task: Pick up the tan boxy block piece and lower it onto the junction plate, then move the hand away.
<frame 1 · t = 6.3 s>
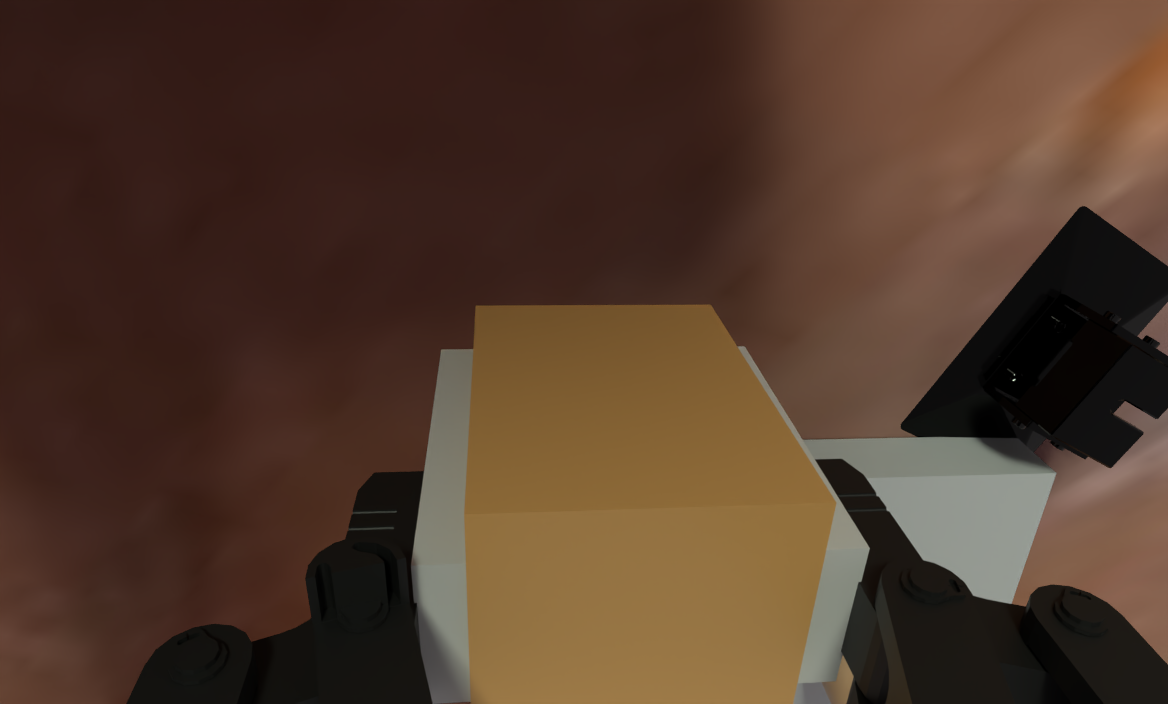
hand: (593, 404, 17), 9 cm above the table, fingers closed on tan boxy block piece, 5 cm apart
tan boxy block piece: (590, 407, 18), point 8 cm above the table, touching gripper
black boxy piece: (1030, 345, 29), on the table
junction plate: (757, 589, 32), on the table
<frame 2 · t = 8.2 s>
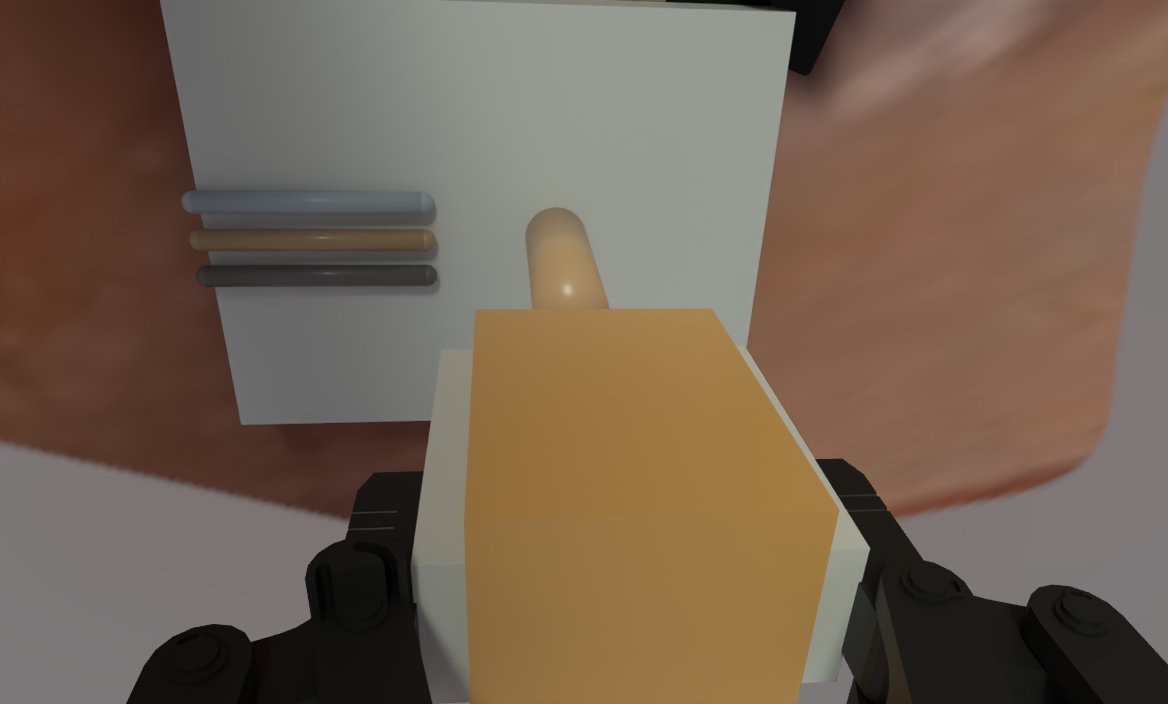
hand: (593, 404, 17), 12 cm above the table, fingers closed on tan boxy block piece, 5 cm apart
tan boxy block piece: (590, 411, 18), point 12 cm above the table, touching gripper
junction plate: (494, 213, 28), on the table
when the fingers open (3 cm above the table, at t = 10.6 s): tan boxy block piece stays where it is, resting on junction plate.
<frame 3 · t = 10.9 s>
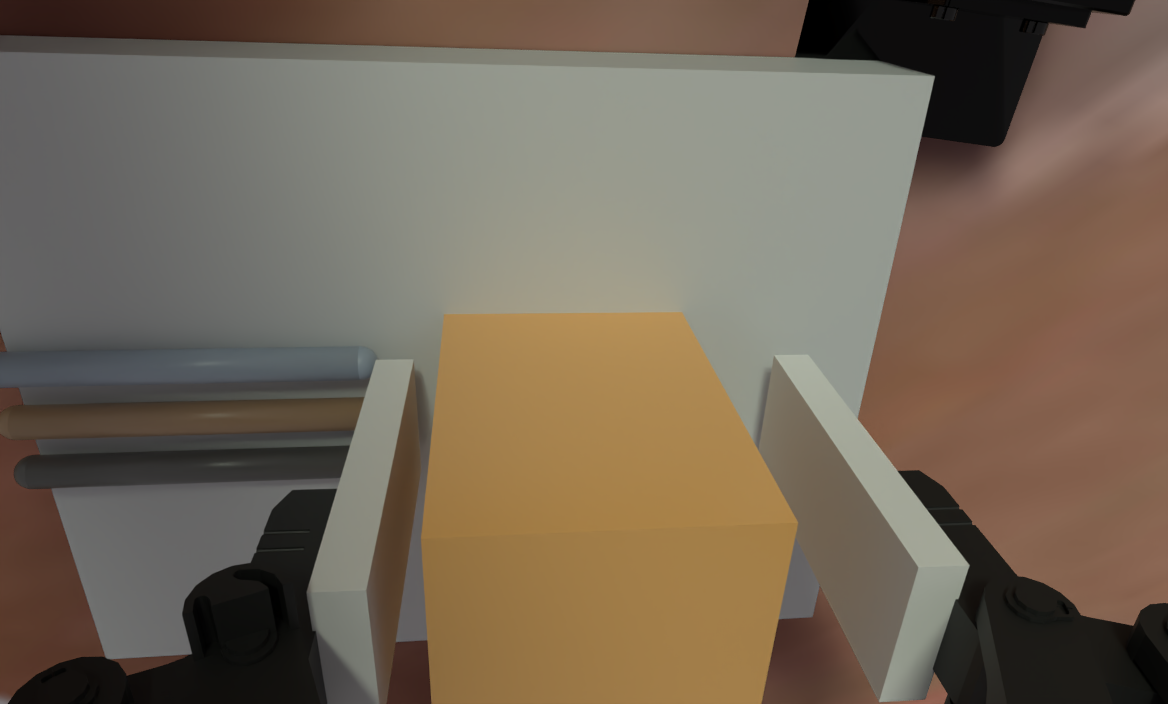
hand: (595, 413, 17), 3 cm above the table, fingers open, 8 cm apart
tan boxy block piece: (561, 415, 18), point 2 cm above the table, touching junction plate
junction plate: (472, 351, 19), on the table
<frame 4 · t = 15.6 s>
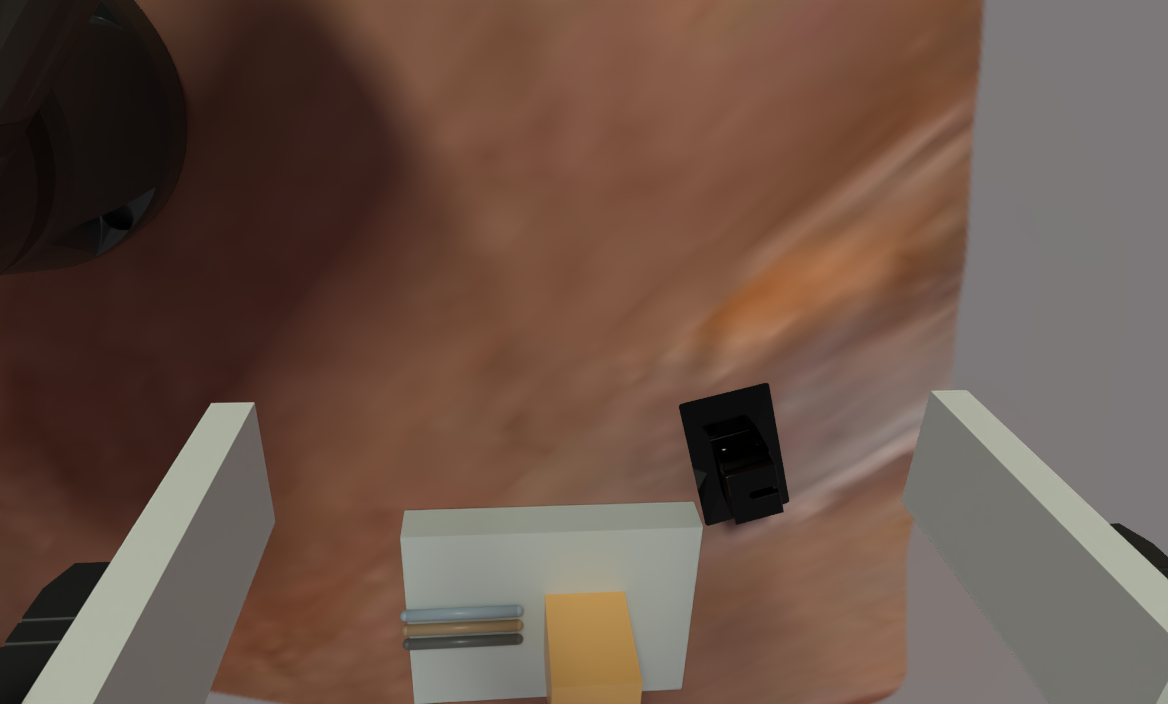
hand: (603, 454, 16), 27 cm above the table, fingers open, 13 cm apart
tan boxy block piece: (583, 622, 51), point 2 cm above the table, touching junction plate
black boxy piece: (733, 449, 50), on the table
junction plate: (550, 591, 52), on the table
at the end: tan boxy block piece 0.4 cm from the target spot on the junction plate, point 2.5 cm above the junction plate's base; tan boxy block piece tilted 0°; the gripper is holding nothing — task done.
